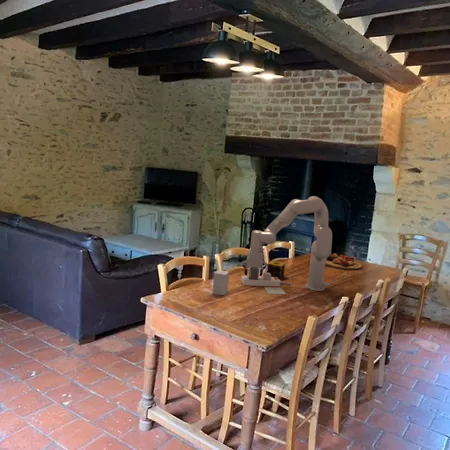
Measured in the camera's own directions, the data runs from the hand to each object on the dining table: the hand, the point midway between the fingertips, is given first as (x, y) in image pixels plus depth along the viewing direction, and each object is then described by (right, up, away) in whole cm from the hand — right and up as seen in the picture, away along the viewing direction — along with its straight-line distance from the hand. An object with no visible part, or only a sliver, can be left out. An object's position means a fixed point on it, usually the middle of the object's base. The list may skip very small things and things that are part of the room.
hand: (253, 275), depth 270 cm
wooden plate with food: (+76, 0, +71) cm, 104 cm away
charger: (0, -3, +1) cm, 3 cm away
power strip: (+9, -6, +2) cm, 11 cm away
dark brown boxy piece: (+16, -4, +19) cm, 26 cm away
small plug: (+9, -4, +2) cm, 10 cm away
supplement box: (-21, -8, -22) cm, 32 cm away
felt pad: (+13, -8, -11) cm, 19 cm away
